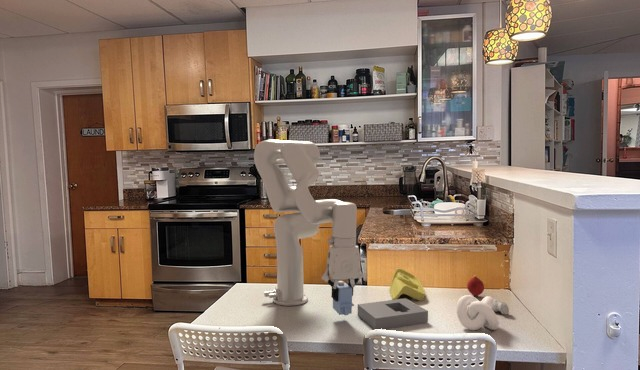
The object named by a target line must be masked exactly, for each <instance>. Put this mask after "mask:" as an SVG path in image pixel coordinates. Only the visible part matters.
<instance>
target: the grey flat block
mask: <svg viewBox="0 0 640 370" xmlns="http://www.w3.org/2000/svg"><path fill="white" fill-rule="evenodd" d="M357 316H358V317H359V318H360V319H362V320H363V321H364V322H365V323H366V324H367V325H369V326H370V327H371V329H374V330H375V329H381V328H382V330H388V329H393V328H395V329H396V328H402V327H407V326H406V325H408V326H414V325H413V324H415V325H420V324H419V323H421V324H426V323H425V322H429V311H428V310H426V308H423V307H422V306H420V305H418V304H416V303H415V302H413V301H411V300H409V299H408V298H407V297H405V298H398V299H396V300H394V299H389V300H382V301H374V302H373V301H372V302H365V303H359V304H357ZM401 326H402V327H401Z"/></svg>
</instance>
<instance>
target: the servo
mask: <svg viewBox="0 0 640 370" xmlns="http://www.w3.org/2000/svg"><path fill="white" fill-rule="evenodd" d="M337 289H338V301H335V300H334V299H333V298H332V295H330V297H331V298H332V309H333V310H334V311H335V312H336V313H337V314H338V315H339V316H340V315H342V316H343V315H344V316H349V315H350V314H351V315H352V312H353V310H352V309H353V307H354V306H355V304H354V303H353V296H352V288H351V287H350V286H349V285H348V283H347V282H345V280H338V285H337Z"/></svg>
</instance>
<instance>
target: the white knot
mask: <svg viewBox="0 0 640 370" xmlns="http://www.w3.org/2000/svg"><path fill="white" fill-rule="evenodd" d="M493 299H494V298H493V297H491V296H490V295H487V296H485V297H483V298H482V299H481V300H479V299H478V298H476V297H474V296H473V295H472V294H465V295H462V296H461V297H459V299H458V301H457V303H456V314H457V317H458V320H459V323H460V324H461V325H462V326H463V327H464V328H465V329H467V330H469V329H470V330H469V331H477V330H480V329H482V327H484V326H485V328H487V329H488V330H490V331H491V330H493V331H494V330H497V329H498V328H499V325H500V321H499V318H498V315H497V314H496V312H495V311H493V310H492V307H493V305H494V300H493Z"/></svg>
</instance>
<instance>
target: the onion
mask: <svg viewBox="0 0 640 370" xmlns="http://www.w3.org/2000/svg"><path fill="white" fill-rule="evenodd" d="M466 288H467V290H468V292H469V293H470V295H471V296H473V297H474V296H476V297H478V296H480V295H481V294H482V293H484V291H485V285H484V283H483V281H482V280H481V278H478V276H477V275H476V274H474V275H473V277H472V278H471V279H469V281H468V282H467V285H466Z"/></svg>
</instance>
